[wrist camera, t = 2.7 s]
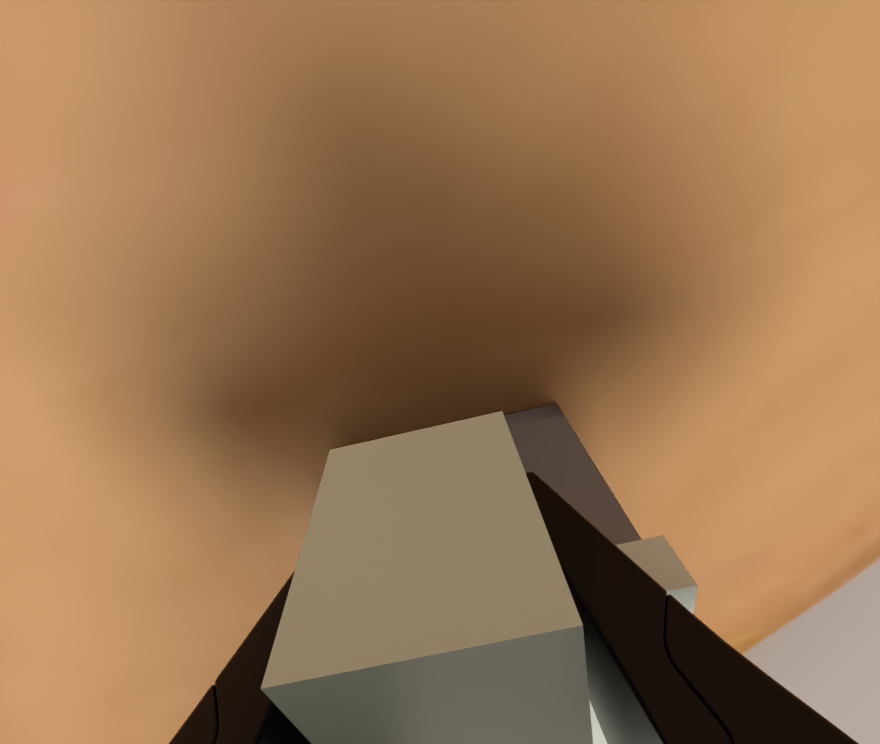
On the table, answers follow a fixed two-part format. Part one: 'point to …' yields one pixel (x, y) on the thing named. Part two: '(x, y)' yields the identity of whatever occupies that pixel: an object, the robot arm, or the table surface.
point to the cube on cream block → (438, 600)
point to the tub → (568, 469)
